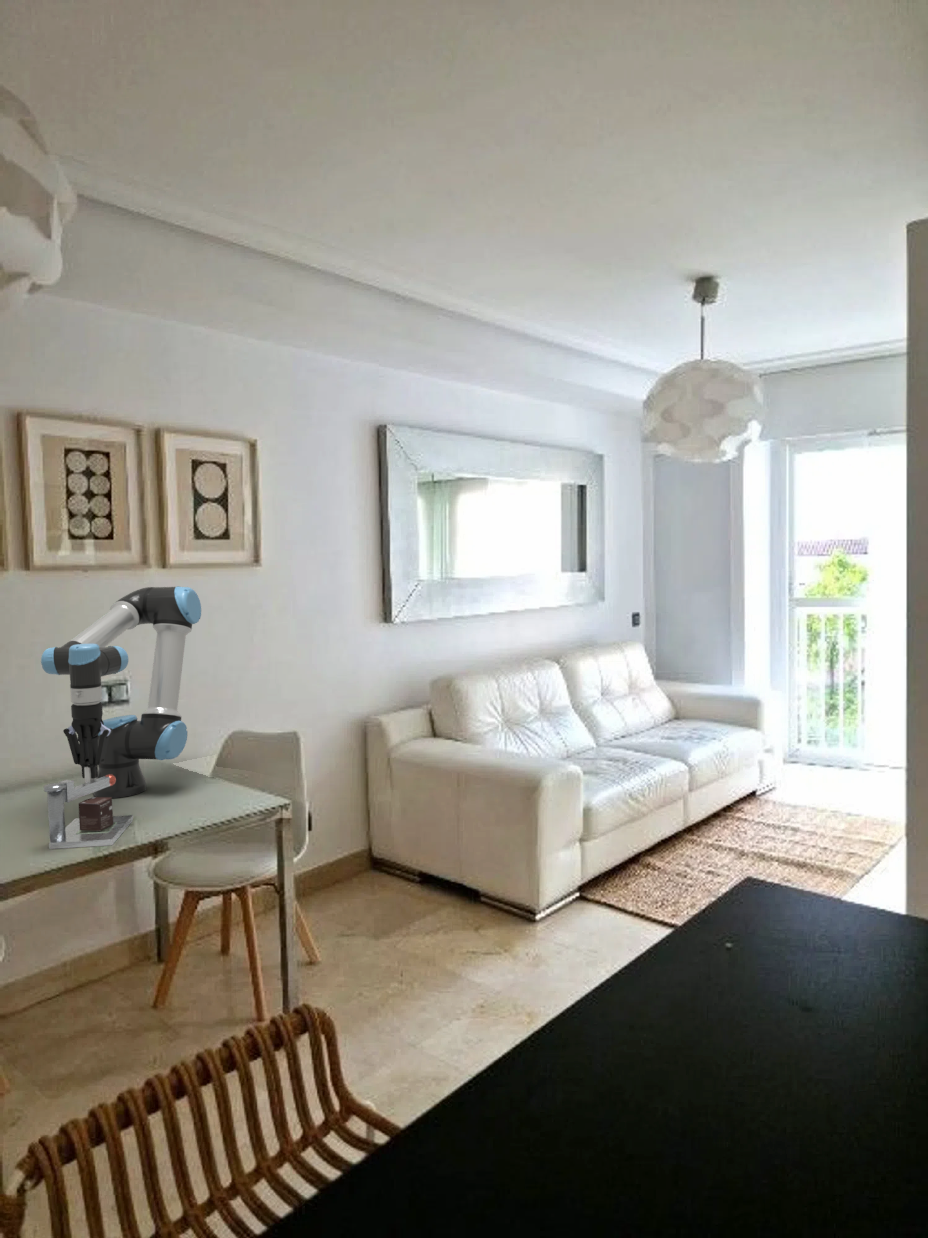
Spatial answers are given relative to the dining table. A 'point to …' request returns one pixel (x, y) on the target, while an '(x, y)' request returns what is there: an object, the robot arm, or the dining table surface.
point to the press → (72, 832)
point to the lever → (80, 787)
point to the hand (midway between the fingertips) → (90, 790)
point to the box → (95, 814)
